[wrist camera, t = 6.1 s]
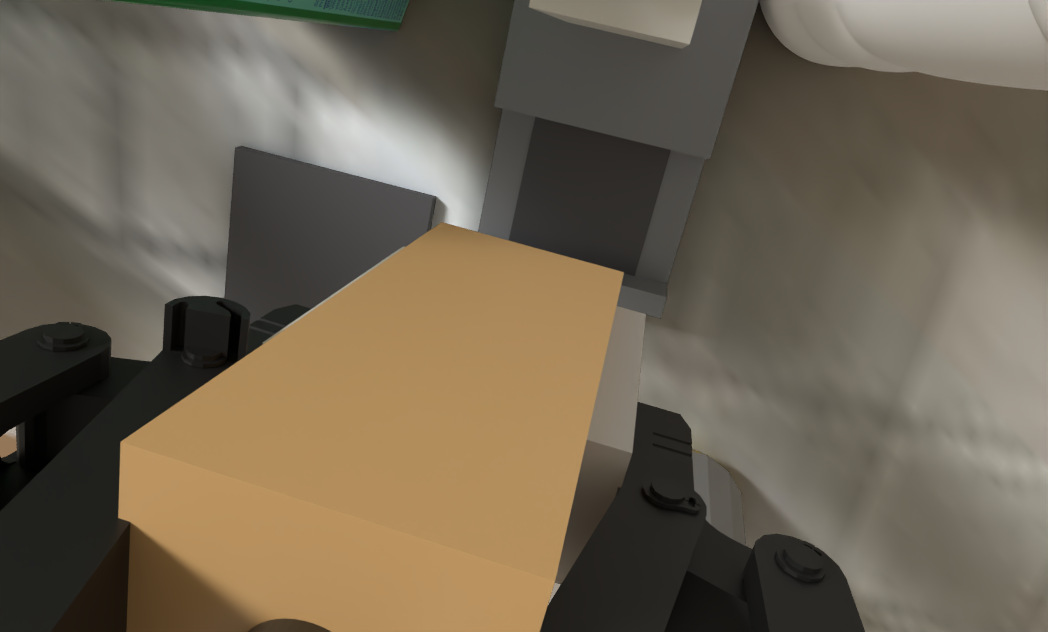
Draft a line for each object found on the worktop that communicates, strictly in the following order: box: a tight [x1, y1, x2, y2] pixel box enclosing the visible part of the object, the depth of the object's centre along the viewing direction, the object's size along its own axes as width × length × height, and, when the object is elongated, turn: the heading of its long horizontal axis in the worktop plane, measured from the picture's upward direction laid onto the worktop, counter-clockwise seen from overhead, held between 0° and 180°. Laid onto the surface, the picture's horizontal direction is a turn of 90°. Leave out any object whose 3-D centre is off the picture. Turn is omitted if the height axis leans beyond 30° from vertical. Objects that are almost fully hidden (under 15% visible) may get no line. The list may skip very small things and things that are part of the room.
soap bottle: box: [692, 450, 746, 546], centre depth 29 cm, size 7×7×18 cm
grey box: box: [478, 0, 759, 319], centre depth 25 cm, size 9×21×14 cm, turn 168°
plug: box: [118, 222, 624, 632], centre depth 12 cm, size 4×4×13 cm
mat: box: [225, 146, 436, 324], centre depth 37 cm, size 10×10×1 cm
